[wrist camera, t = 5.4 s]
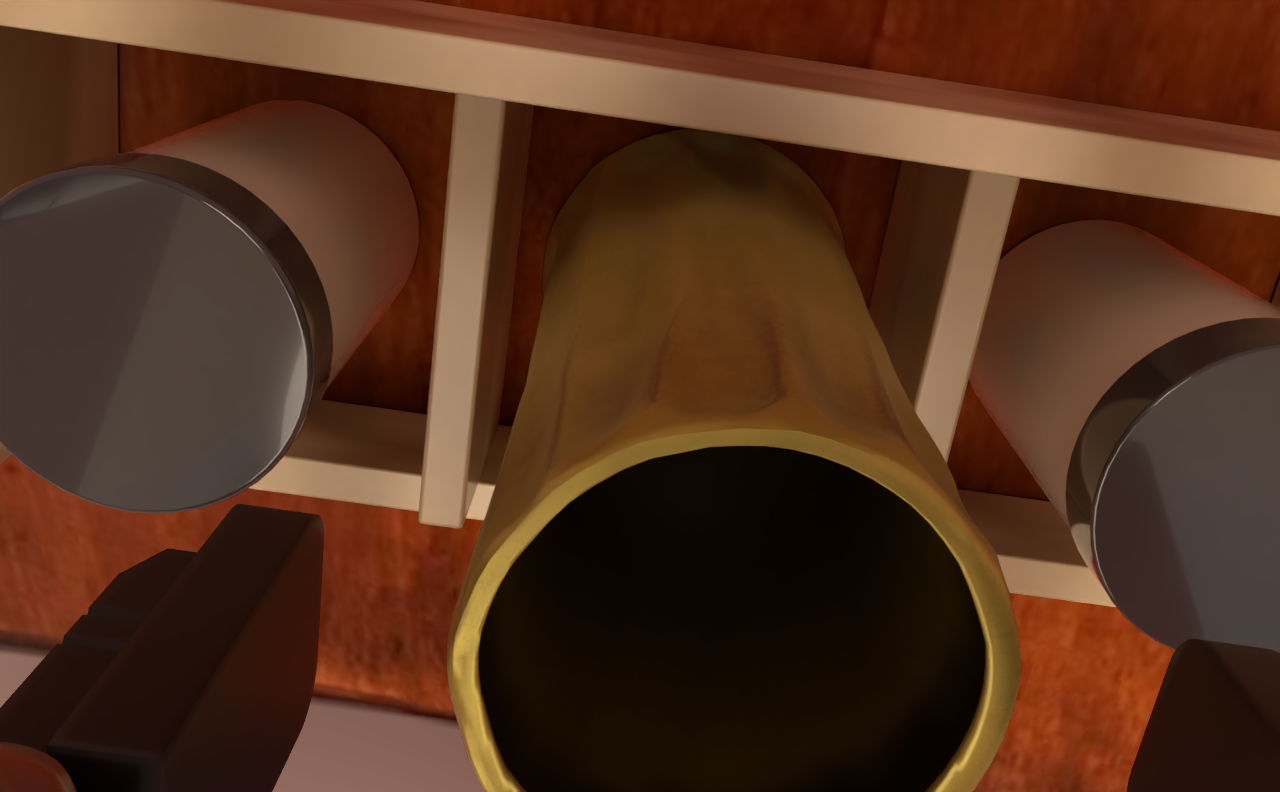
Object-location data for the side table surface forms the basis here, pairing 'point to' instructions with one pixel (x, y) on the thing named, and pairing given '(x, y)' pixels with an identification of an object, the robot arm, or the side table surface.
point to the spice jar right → (1145, 422)
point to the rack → (657, 93)
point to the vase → (722, 514)
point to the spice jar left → (194, 301)
